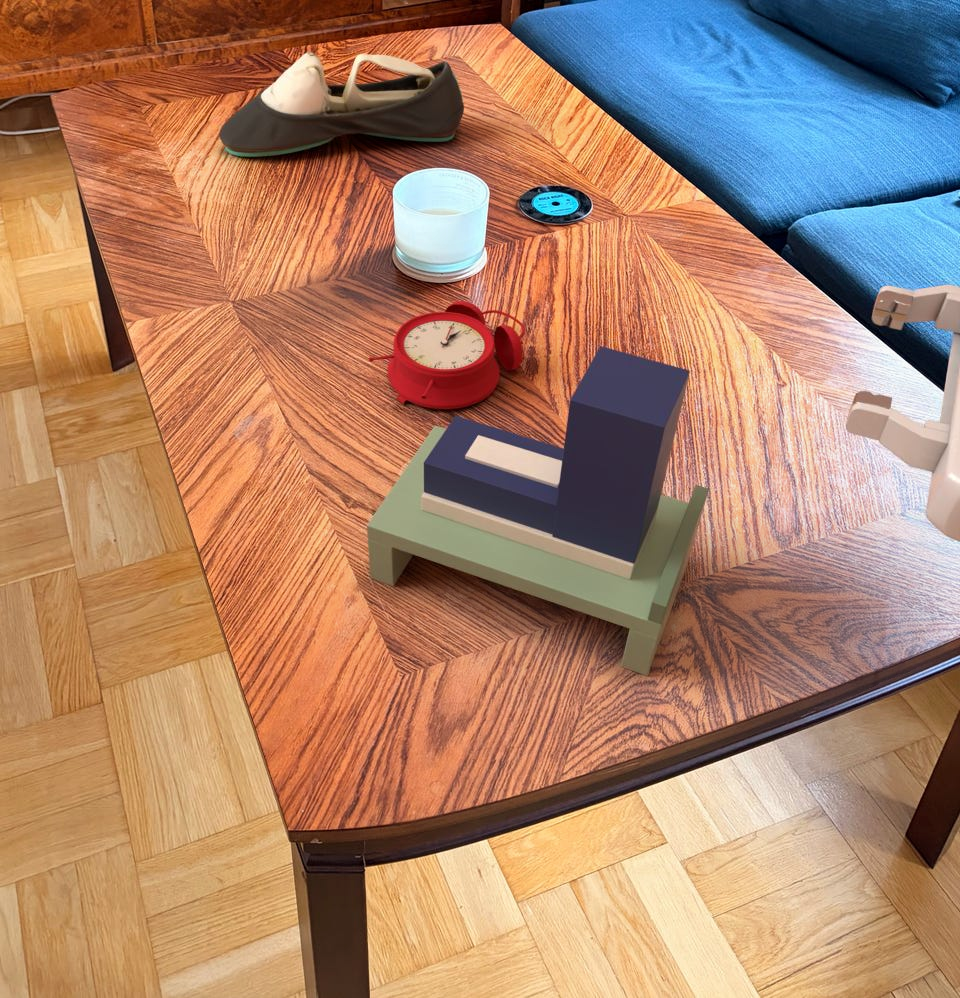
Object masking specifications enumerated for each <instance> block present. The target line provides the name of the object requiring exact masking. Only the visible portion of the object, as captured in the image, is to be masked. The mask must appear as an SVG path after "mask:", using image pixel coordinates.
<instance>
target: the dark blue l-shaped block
mask: <svg viewBox="0 0 960 998" xmlns="http://www.w3.org/2000/svg"><path fill="white" fill-rule="evenodd" d="M690 372H691V370H689V369H685V368H683V367H678V366H675V365H672V364H667V363H663V362H659V361H656V360H653V359H649V358H645V357H642V356H638V355H635V354H631V353H628V352H623V351H621V350H617V349H613V348H610V347H607V346H602V345H600V346H599V348H598V349H597V351H596V352H595V355H594V356H593V358H592V359H591V361H590V364H589V365H588V367H587V369H586V371H585V372H584V374H583V375H582V377H581V379H580V381H579V383H578V385H577V386H576V388H575V390H574V392H573V394H572V395H571V397H570V399H569V404H568V405H569V406H568V411H567V412H568V413H567V421H566V427H565V428H566V429H565V436H564V444H563V447H560V446H557V445H553V444H550V443H547V442H545V441H540V440H537V439H534V438H530V437H528V436H524V435H521V434H518V433H515V432H511V431H508V430H505V429H502V428H501V429H500V428H498V427H495V426H491V425H488V424H485V423H481V422H480V421H479V422H478V421H475V420H472V419H469V418H465V417H462V416H460V415H454V417H453V419H452V420H451V421H450V423H449V424H448V426H447V428H446V430H445V432H444V433H443V435H442V436H441V438H440V439H439V441H438V442H437V444H436V445H435V447H434V448H433V449H432V451H431V452H430V454H429V455H428V457H427V458H426V460H425V461H424V493H423V495H422V510H423V511H426V512H429V513H432V514H435V515H438V516H441V517H444V518H447V519H450V520H453V521H456V522H459V523H462V524H465V525H468V526H471V527H474V528H477V529H480V530H483V531H486V532H489V533H492V534H495V535H498V536H501V537H504V538H507V539H510V540H513V541H516V542H519V543H522V544H525V545H528V546H531V547H534V548H537V549H540V550H543V551H546V552H549V553H552V554H555V555H558V556H561V557H564V558H567V559H570V560H573V561H576V562H579V563H582V564H585V565H588V566H591V567H594V568H597V569H599V570H602V571H605V572H608V573H611V574H614V575H617V576H620V577H623V578H626V579H629V580H630V579H631V577H632V575H633V572H634V570H635V567H636V565H637V563H638V560H639V558H640V555H641V553H642V550H643V548H644V546H645V543H646V541H647V538H648V536H649V533H650V531H651V529H652V526H653V524H654V521H655V519H656V514H657V510H658V505H659V500H660V496H661V495H662V493H663V487H664V482H665V480H666V479H665V478H666V475H667V470H668V466H669V462H670V458H671V453H672V448H673V444H674V440H675V436H676V432H677V429H678V424H679V419H680V416H681V411H682V407H683V402H684V398H685V394H686V390H687V389H686V388H687V385H688V381H689V378H690V377H689V376H690Z"/></svg>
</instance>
